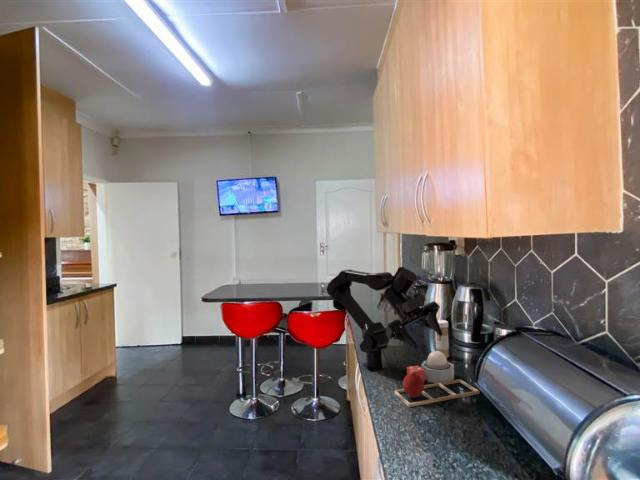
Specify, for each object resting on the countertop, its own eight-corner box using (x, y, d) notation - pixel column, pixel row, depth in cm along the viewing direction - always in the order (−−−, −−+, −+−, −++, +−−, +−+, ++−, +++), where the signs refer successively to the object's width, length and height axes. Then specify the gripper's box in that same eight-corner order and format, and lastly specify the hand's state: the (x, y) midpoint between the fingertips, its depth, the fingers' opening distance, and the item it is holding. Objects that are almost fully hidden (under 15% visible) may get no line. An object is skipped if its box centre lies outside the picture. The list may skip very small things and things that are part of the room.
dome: (421, 367, 122) (421, 349, 122) (440, 364, 124) (440, 346, 124) (434, 375, 115) (433, 356, 115) (453, 372, 117) (453, 353, 117)
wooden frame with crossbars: (394, 393, 109) (393, 390, 109) (460, 381, 116) (459, 379, 116) (409, 407, 101) (408, 404, 101) (479, 393, 107) (479, 390, 107)
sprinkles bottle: (434, 354, 140) (433, 320, 140) (445, 353, 140) (444, 319, 140) (439, 359, 135) (438, 323, 135) (451, 358, 136) (450, 322, 135)
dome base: (403, 376, 122) (402, 362, 121) (441, 369, 125) (441, 356, 125) (418, 387, 112) (417, 373, 112) (459, 380, 116) (459, 366, 116)
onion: (420, 392, 109) (419, 366, 109) (426, 401, 103) (425, 373, 103) (401, 393, 109) (400, 367, 109) (406, 402, 103) (405, 375, 103)
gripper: (379, 300, 110) (411, 342, 101) (427, 277, 117) (461, 315, 107) (374, 319, 119) (403, 360, 109) (419, 296, 125) (450, 333, 116)
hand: (430, 341), depth 110 cm, fingers open, 9 cm apart
